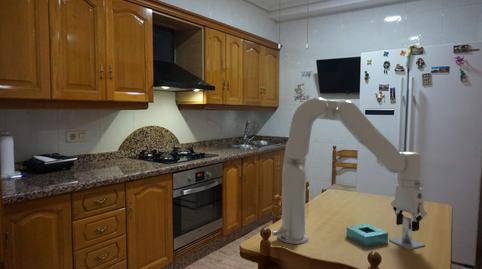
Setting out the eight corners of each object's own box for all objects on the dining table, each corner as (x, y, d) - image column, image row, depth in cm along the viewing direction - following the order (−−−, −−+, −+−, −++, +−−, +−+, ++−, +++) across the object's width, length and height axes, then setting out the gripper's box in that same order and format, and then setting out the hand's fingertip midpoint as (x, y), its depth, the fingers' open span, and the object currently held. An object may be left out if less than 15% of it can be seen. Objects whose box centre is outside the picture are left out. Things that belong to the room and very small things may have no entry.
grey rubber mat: (408, 249, 118) (408, 248, 118) (389, 240, 126) (389, 239, 126) (425, 245, 121) (425, 244, 121) (405, 237, 129) (405, 236, 129)
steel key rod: (407, 244, 121) (408, 219, 121) (399, 240, 125) (400, 216, 124) (413, 243, 123) (414, 218, 122) (406, 239, 126) (407, 215, 125)
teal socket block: (366, 247, 120) (366, 237, 120) (346, 236, 131) (346, 227, 130) (387, 242, 124) (388, 232, 124) (367, 232, 135) (367, 223, 135)
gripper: (436, 187, 115) (434, 234, 117) (397, 178, 131) (396, 219, 133) (422, 189, 112) (420, 237, 114) (384, 179, 128) (382, 221, 130)
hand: (407, 227), depth 123 cm, fingers open, 6 cm apart
